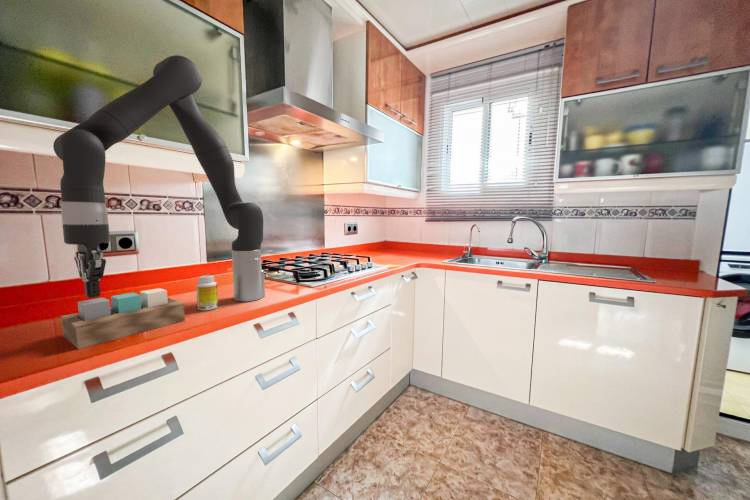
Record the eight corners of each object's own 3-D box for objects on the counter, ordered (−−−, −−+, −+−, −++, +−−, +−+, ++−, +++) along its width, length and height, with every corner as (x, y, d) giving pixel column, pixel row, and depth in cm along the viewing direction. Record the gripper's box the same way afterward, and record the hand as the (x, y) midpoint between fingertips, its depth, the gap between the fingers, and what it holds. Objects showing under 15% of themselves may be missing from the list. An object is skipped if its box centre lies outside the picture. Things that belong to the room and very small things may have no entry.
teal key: (134, 307, 77) (133, 292, 77) (141, 310, 75) (140, 295, 75) (112, 311, 74) (111, 296, 73) (119, 315, 71) (117, 299, 71)
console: (164, 312, 87) (163, 296, 86) (184, 320, 80) (183, 303, 80) (63, 336, 69) (61, 316, 69) (78, 349, 63) (76, 326, 62)
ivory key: (160, 301, 82) (159, 288, 82) (168, 304, 80) (167, 290, 80) (141, 305, 79) (140, 291, 78) (148, 308, 76) (147, 293, 76)
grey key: (104, 313, 72) (103, 297, 72) (111, 316, 70) (109, 300, 70) (79, 318, 69) (77, 301, 68) (85, 322, 66) (83, 305, 66)
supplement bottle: (221, 308, 92) (219, 276, 91) (201, 312, 88) (199, 278, 87) (214, 304, 95) (213, 273, 94) (195, 308, 91) (193, 276, 90)
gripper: (118, 223, 66) (124, 297, 68) (98, 222, 74) (104, 289, 75) (71, 223, 60) (79, 305, 62) (54, 222, 67) (62, 296, 69)
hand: (93, 296), depth 69 cm, fingers closed
